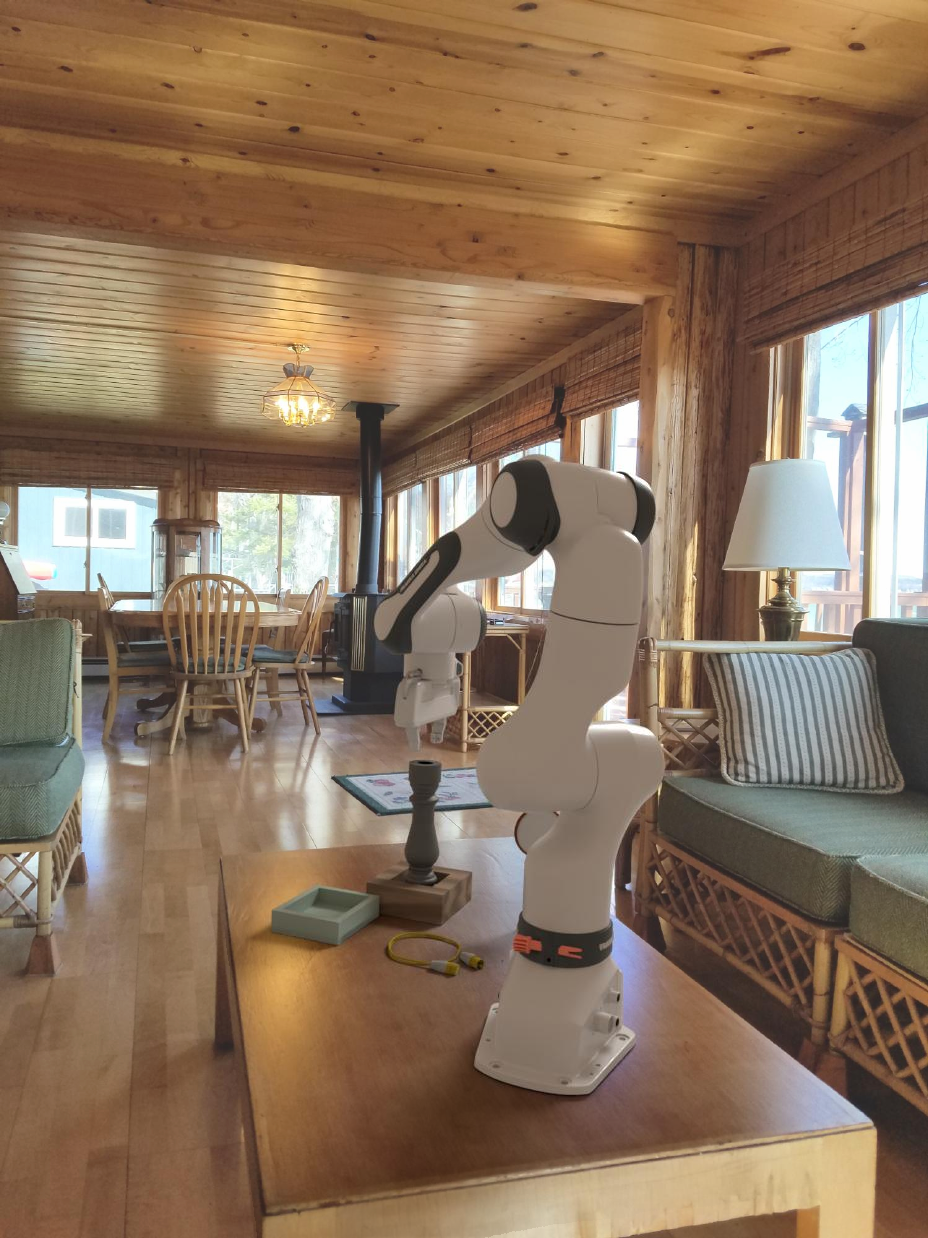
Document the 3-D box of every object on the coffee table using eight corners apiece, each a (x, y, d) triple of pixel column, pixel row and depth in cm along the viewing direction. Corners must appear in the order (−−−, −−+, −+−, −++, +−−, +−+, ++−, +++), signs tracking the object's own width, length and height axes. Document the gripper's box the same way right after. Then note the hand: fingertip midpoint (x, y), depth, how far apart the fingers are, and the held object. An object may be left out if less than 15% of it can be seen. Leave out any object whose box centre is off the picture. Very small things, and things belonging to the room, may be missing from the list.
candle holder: (436, 912, 153) (442, 767, 153) (400, 910, 154) (406, 765, 153) (438, 900, 160) (443, 760, 159) (403, 898, 160) (409, 758, 159)
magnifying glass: (558, 923, 151) (563, 804, 150) (561, 926, 149) (567, 807, 149) (508, 924, 149) (514, 805, 149) (511, 928, 147) (516, 807, 147)
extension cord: (407, 985, 126) (408, 970, 126) (377, 942, 141) (378, 930, 140) (487, 975, 130) (488, 961, 130) (451, 935, 145) (451, 923, 145)
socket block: (441, 925, 148) (442, 895, 147) (365, 911, 153) (366, 882, 152) (471, 899, 161) (472, 871, 161) (400, 887, 166) (401, 860, 166)
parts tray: (338, 945, 137) (338, 922, 137) (270, 932, 142) (271, 910, 142) (378, 916, 151) (379, 895, 150) (316, 904, 155) (316, 884, 155)
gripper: (421, 673, 145) (418, 758, 145) (466, 665, 164) (463, 740, 164) (386, 670, 147) (383, 754, 147) (435, 662, 166) (431, 737, 166)
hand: (425, 747), depth 156 cm, fingers open, 8 cm apart
